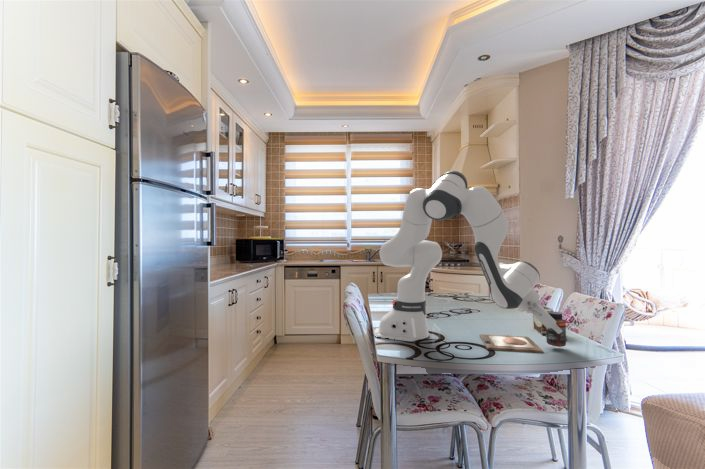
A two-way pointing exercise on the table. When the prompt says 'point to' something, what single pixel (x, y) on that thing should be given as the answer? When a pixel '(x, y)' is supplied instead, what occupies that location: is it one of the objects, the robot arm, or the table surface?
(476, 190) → the robot arm
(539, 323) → the food container
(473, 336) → the table surface
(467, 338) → the table surface
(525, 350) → the clipboard
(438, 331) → the table surface
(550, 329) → the supplement bottle
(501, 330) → the table surface
